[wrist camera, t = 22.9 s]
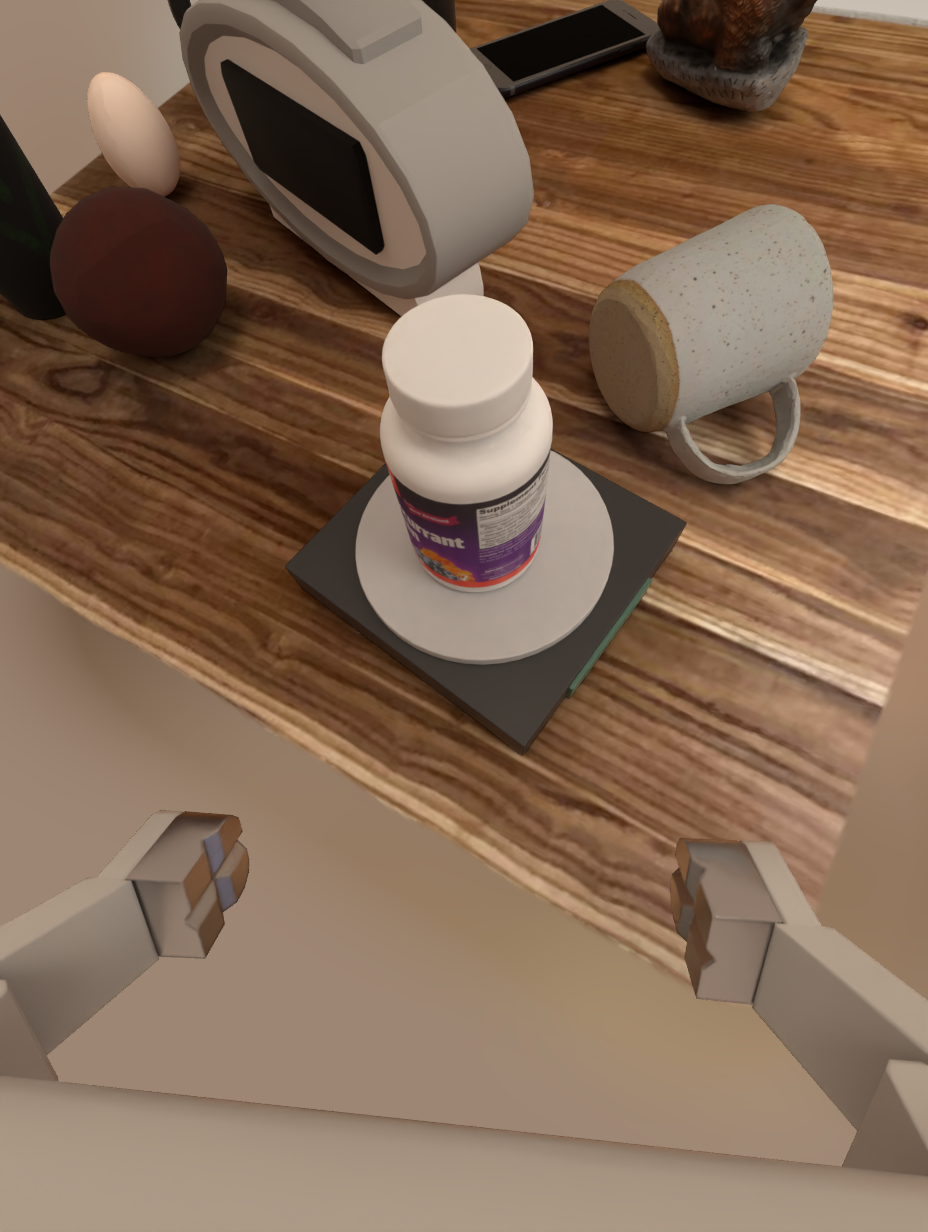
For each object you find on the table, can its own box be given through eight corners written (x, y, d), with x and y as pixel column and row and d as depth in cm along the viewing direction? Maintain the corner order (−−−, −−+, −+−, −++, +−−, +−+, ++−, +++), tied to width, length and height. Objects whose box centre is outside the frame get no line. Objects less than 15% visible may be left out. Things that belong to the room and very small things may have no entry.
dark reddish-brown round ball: (88, 346, 34) (-24, 214, 27) (210, 269, 36) (136, 127, 29) (153, 413, 31) (48, 286, 24) (280, 326, 33) (218, 185, 26)
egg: (207, 175, 40) (152, 55, 34) (178, 216, 38) (115, 97, 32) (151, 171, 41) (88, 52, 35) (120, 211, 39) (48, 94, 33)
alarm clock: (239, 204, 38) (121, -78, 27) (308, 164, 40) (225, -121, 28) (450, 372, 31) (414, 77, 19) (529, 316, 32) (541, 7, 20)
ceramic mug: (570, 375, 30) (591, 231, 23) (697, 321, 31) (755, 165, 23) (681, 522, 26) (749, 403, 19) (823, 454, 27) (939, 317, 20)
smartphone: (453, 64, 43) (452, 49, 43) (616, 7, 45) (618, -8, 44) (494, 107, 41) (494, 92, 40) (666, 45, 42) (669, 29, 41)
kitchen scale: (677, 550, 25) (696, 516, 23) (526, 759, 22) (529, 748, 19) (456, 425, 29) (450, 385, 26) (301, 588, 26) (278, 559, 23)
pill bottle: (389, 532, 23) (316, 339, 14) (487, 466, 24) (475, 248, 15) (464, 622, 21) (433, 463, 13) (567, 546, 22) (606, 350, 14)
